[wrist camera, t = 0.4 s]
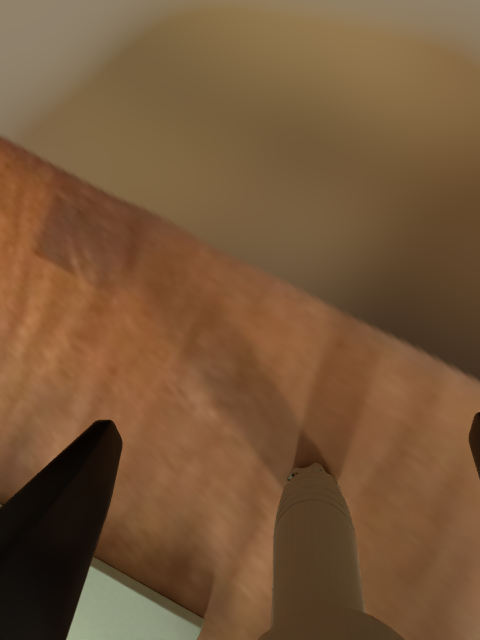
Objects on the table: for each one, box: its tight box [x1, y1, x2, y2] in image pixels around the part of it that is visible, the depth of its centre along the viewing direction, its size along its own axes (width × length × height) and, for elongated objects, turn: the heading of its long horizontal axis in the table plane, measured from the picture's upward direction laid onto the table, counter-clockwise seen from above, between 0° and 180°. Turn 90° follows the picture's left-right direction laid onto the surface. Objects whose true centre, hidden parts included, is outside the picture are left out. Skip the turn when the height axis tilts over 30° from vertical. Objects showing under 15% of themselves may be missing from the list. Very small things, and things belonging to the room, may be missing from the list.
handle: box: [258, 463, 404, 640], centre depth 17 cm, size 5×6×15 cm
